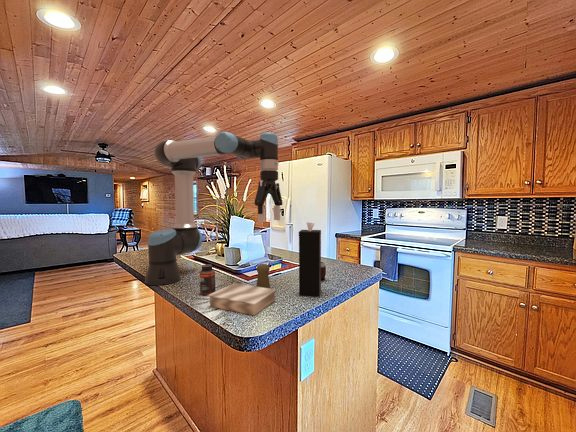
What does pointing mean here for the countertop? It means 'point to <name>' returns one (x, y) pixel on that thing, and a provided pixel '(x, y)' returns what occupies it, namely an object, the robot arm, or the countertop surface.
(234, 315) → the countertop surface
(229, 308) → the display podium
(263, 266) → the cork
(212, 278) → the supplement bottle
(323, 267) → the mate gourd
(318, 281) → the tissue box
